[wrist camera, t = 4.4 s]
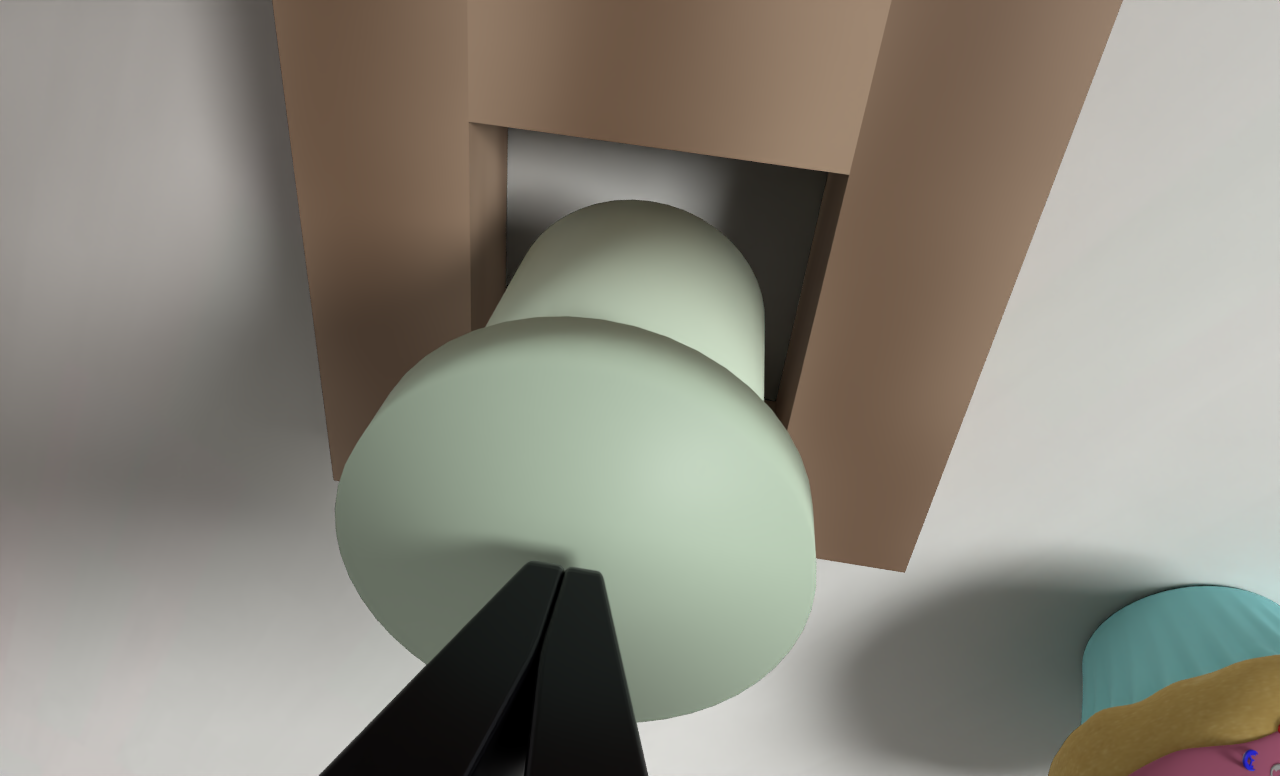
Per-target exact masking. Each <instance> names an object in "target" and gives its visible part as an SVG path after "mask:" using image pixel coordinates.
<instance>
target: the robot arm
mask: <svg viewBox="0 0 1280 776" xmlns="http://www.w3.org/2000/svg"><path fill="white" fill-rule="evenodd" d="M319 776H648V772H647V768H646V763H645V759H644V754H643V750H642V745H641V741H640V736H639V732H638V728H637V723H636V719H635V714H634V710H633V705H632V701H631V696H630V692H629V688H628V683H627V679H626V674H625V670H624V665H623V661H622V657H621V652H620V648H619V643H618V639H617V634H616V630H615V625H614V621H613V617H612V612H611V608H610V603H609V599H608V594H607V590H606V586H605V581H604V577H603V575H602V573H601V572H599V571H596V570H590V569H584V568H578V567H569V568H567V569H566V570H564V568H563V567H562V566H561V565H559V564H553V563H547V562H541V561H535V560H532V561H529V562H527V563H526V564H525V565H524V566H523V567H522V568H521V569H520V570H519V571H518V572H517V573H516V574H515V575H514V576H513V577H512V578H511V579H510V580H509V581H508V582H507V583H506V584H505V585H504V586H503V587H502V588H501V589H500V590H499V591H498V592H497V593H496V594H495V595H494V596H493V597H492V598H491V599H490V600H489V601H488V602H487V603H486V604H485V606H484V607H483V608H482V609H481V610H480V611H479V612H478V613H477V614H476V615H475V616H474V617H473V618H472V619H471V620H470V621H469V622H468V623H467V624H466V625H465V626H464V627H463V628H462V629H461V630H460V631H459V632H458V633H457V634H456V635H455V636H454V637H453V638H452V639H451V640H450V641H449V642H448V643H447V644H446V646H445V647H444V648H443V649H442V650H441V651H440V652H439V653H438V654H437V655H436V656H435V657H434V658H433V659H432V660H431V661H430V662H429V663H428V664H427V665H426V666H425V667H424V668H423V669H422V670H421V671H420V672H419V673H418V674H417V675H416V676H415V677H414V678H413V679H412V680H411V681H410V682H409V683H408V684H407V686H406V687H405V688H404V689H403V690H402V691H401V692H400V693H399V694H398V695H397V696H396V697H395V698H394V699H393V700H392V701H391V702H390V703H389V704H388V705H387V706H386V707H385V708H384V709H383V710H382V711H381V712H380V713H379V714H378V715H377V716H376V717H375V718H374V719H373V720H372V721H371V722H370V723H369V724H368V726H367V727H366V728H365V729H364V730H363V731H362V732H361V733H360V734H359V735H358V736H357V737H356V738H355V739H354V740H353V741H352V742H351V743H350V744H349V745H348V746H347V747H346V748H345V749H344V750H343V751H342V752H341V753H340V754H339V755H338V756H337V757H336V758H335V759H334V760H333V761H332V762H331V763H330V765H329V766H328V767H327V768H326V769H325V770H324V771H323V772H322V773H321V774H320V775H319Z"/></svg>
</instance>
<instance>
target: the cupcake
mask: <svg viewBox="0 0 1280 776" xmlns="http://www.w3.org/2000/svg"><path fill="white" fill-rule="evenodd" d="M1082 672H1083V702H1082V719H1081V725H1080V726H1079V727H1078V728H1077V729H1076V730H1074V731H1073V732H1072V733H1071V734H1070V735H1069V737H1068V738H1067V739H1066V741H1065V742H1064V743H1063V745H1062V746H1061V748H1060V749H1059V751H1058V752H1057V754H1056V755H1055V757H1054V759H1053V761H1052V763H1051V766H1050V770H1049V774H1048V776H1280V606H1279V605H1278V604H1276V603H1275V602H1273V601H1271V600H1269V599H1267V598H1265V597H1263V596H1261V595H1258V594H1255V593H1252V592H1249V591H1246V590H1241V589H1236V588H1230V587H1219V586H1195V587H1185V588H1178V589H1173V590H1168V591H1164V592H1160V593H1157V594H1154V595H1150V596H1148V597H1145V598H1142V599H1140V600H1138V601H1135V602H1133V603H1131V604H1129V605H1127V606H1126V607H1124V608H1122V609H1121V610H1119V611H1117V612H1116V613H1114V614H1113V615H1112V616H1111V617H1109V618H1108V619H1107V620H1106V621H1105V622H1103V623H1102V624H1101V625H1100V626H1099V628H1098V629H1097V630H1096V631H1095V632H1094V634H1093V635H1092V636H1091V638H1090V640H1089V642H1088V643H1087V646H1086V648H1085V651H1084V655H1083V662H1082Z"/></svg>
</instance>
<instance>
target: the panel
mask: <svg viewBox="0 0 1280 776" xmlns="http://www.w3.org/2000/svg"><path fill="white" fill-rule="evenodd" d="M1122 1H1123V0H272V3H273V11H274V18H275V26H276V34H277V42H278V50H279V57H280V65H281V73H282V81H283V89H284V96H285V104H286V112H287V120H288V128H289V135H290V143H291V151H292V159H293V167H294V174H295V182H296V190H297V198H298V206H299V213H300V221H301V229H302V237H303V245H304V252H305V260H306V268H307V276H308V284H309V291H310V299H311V307H312V315H313V323H314V330H315V338H316V346H317V354H318V361H319V369H320V377H321V385H322V393H323V400H324V408H325V416H326V424H327V432H328V439H329V447H330V455H331V463H332V471H333V478H334V480H335V481H340V478H341V475H342V472H343V469H344V466H345V464H346V462H347V460H348V458H349V456H350V455H351V453H352V451H353V449H354V447H355V446H356V444H357V442H358V441H359V439H360V438H361V436H362V435H363V433H364V432H365V430H366V429H367V427H368V426H369V424H370V423H371V421H372V419H373V418H374V416H375V415H376V413H377V412H378V410H379V409H380V407H381V406H382V404H383V403H384V401H385V400H386V398H387V397H388V395H389V394H390V392H391V391H392V390H393V389H394V387H395V386H396V385H397V384H398V382H399V381H400V380H401V379H402V378H403V376H404V375H405V374H406V373H407V372H408V371H409V370H410V369H411V368H413V367H414V366H415V365H416V364H417V363H418V362H419V361H421V360H422V359H423V358H424V357H425V356H427V355H428V354H430V353H431V352H433V351H435V350H436V349H438V348H439V347H441V346H443V345H444V344H446V343H447V342H449V341H451V340H454V339H456V338H458V337H460V336H463V335H465V334H467V333H470V332H472V331H474V330H477V329H481V328H484V327H486V325H487V323H488V321H489V319H490V318H491V316H492V314H493V312H494V310H495V309H496V307H497V305H498V303H499V302H500V300H501V298H502V296H503V294H504V293H505V291H506V221H507V149H508V127H510V128H518V129H525V130H532V131H539V132H546V133H553V134H561V135H568V136H575V137H582V138H589V139H596V140H604V141H611V142H618V143H625V144H632V145H639V146H647V147H654V148H661V149H668V150H675V151H682V152H690V153H697V154H704V155H711V156H718V157H725V158H732V159H740V160H747V161H754V162H761V163H768V164H775V165H783V166H790V167H797V168H804V169H811V170H818V171H826V172H828V176H827V180H826V185H825V189H824V193H823V198H822V202H821V207H820V211H819V215H818V220H817V224H816V229H815V233H814V237H813V242H812V246H811V250H810V255H809V259H808V264H807V268H806V272H805V277H804V281H803V285H802V290H801V294H800V299H799V303H798V307H797V312H796V316H795V321H794V325H793V329H792V334H791V338H790V342H789V347H788V351H787V356H786V360H785V364H784V369H783V373H782V377H781V382H780V386H779V391H778V395H777V399H776V402H775V401H769V400H764V402H765V403H766V404H767V405H768V406H769V407H770V408H771V409H772V411H773V412H774V413H775V415H776V416H777V418H778V419H779V420H780V422H781V423H782V424H783V426H784V427H785V429H786V430H787V431H788V433H789V435H790V437H791V438H792V440H793V442H794V444H795V446H796V448H797V450H798V452H799V454H800V456H801V458H802V461H803V464H804V467H805V470H806V473H807V476H808V479H809V484H810V490H811V497H812V503H813V518H814V534H815V551H816V558H818V559H824V560H830V561H836V562H842V563H849V564H855V565H861V566H867V567H873V568H879V569H886V570H892V571H898V572H904V573H905V571H906V568H907V565H908V563H909V560H910V558H911V555H912V552H913V550H914V547H915V544H916V542H917V539H918V537H919V534H920V531H921V529H922V526H923V523H924V521H925V518H926V516H927V513H928V510H929V508H930V505H931V502H932V500H933V497H934V495H935V492H936V489H937V487H938V484H939V481H940V479H941V476H942V474H943V471H944V468H945V466H946V463H947V460H948V458H949V455H950V453H951V450H952V447H953V445H954V442H955V439H956V437H957V434H958V432H959V429H960V426H961V424H962V421H963V418H964V416H965V413H966V411H967V408H968V405H969V403H970V400H971V397H972V395H973V392H974V390H975V387H976V384H977V382H978V379H979V376H980V374H981V371H982V369H983V366H984V363H985V361H986V358H987V355H988V353H989V350H990V348H991V345H992V342H993V340H994V337H995V334H996V332H997V329H998V327H999V324H1000V321H1001V319H1002V316H1003V314H1004V311H1005V308H1006V306H1007V303H1008V300H1009V298H1010V295H1011V293H1012V290H1013V287H1014V285H1015V282H1016V279H1017V277H1018V274H1019V272H1020V269H1021V266H1022V264H1023V261H1024V258H1025V256H1026V253H1027V251H1028V248H1029V245H1030V243H1031V240H1032V237H1033V235H1034V232H1035V230H1036V227H1037V224H1038V222H1039V219H1040V216H1041V214H1042V211H1043V209H1044V206H1045V203H1046V201H1047V198H1048V195H1049V193H1050V190H1051V188H1052V185H1053V182H1054V180H1055V177H1056V174H1057V172H1058V169H1059V167H1060V164H1061V161H1062V159H1063V156H1064V153H1065V151H1066V148H1067V146H1068V143H1069V140H1070V138H1071V135H1072V132H1073V130H1074V127H1075V125H1076V122H1077V119H1078V117H1079V114H1080V111H1081V109H1082V106H1083V104H1084V101H1085V98H1086V96H1087V93H1088V90H1089V88H1090V85H1091V83H1092V80H1093V77H1094V75H1095V72H1096V69H1097V67H1098V64H1099V62H1100V59H1101V56H1102V54H1103V51H1104V48H1105V46H1106V43H1107V41H1108V38H1109V35H1110V33H1111V30H1112V27H1113V25H1114V22H1115V20H1116V17H1117V14H1118V12H1119V9H1120V6H1121V4H1122Z"/></svg>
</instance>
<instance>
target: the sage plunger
mask: <svg viewBox="0 0 1280 776" xmlns="http://www.w3.org/2000/svg"><path fill="white" fill-rule="evenodd" d="M764 355H765V310H764V304H763V299H762V294H761V291H760V288H759V285H758V282H757V279H756V277H755V275H754V273H753V271H752V269H751V267H750V265H749V264H748V262H747V261H746V259H745V258H744V257H743V255H742V254H741V252H740V251H739V250H738V249H737V248H736V247H735V245H734V244H733V243H732V242H731V241H730V240H729V239H728V238H727V237H726V236H724V235H723V234H722V233H721V232H720V231H719V230H717V229H716V228H715V227H713V226H712V225H710V224H709V223H707V222H706V221H704V220H703V219H701V218H699V217H697V216H695V215H693V214H691V213H689V212H687V211H684V210H682V209H679V208H676V207H673V206H670V205H666V204H661V203H657V202H652V201H642V200H615V201H609V202H603V203H598V204H594V205H591V206H588V207H585V208H582V209H579V210H577V211H575V212H573V213H571V214H569V215H567V216H565V217H563V218H562V219H560V220H559V221H557V222H556V223H554V224H553V225H552V226H550V227H549V228H548V229H547V230H546V231H545V232H544V233H543V234H541V235H540V236H539V238H538V239H537V240H536V241H535V242H534V244H533V245H532V246H531V247H530V249H529V251H528V252H527V254H526V255H525V257H524V259H523V260H522V262H521V264H520V266H519V268H518V269H517V271H516V273H515V275H514V277H513V278H512V280H511V282H510V284H509V285H508V287H507V289H506V291H505V293H504V294H503V296H502V298H501V300H500V302H499V303H498V305H497V307H496V309H495V310H494V312H493V314H492V316H491V318H490V319H489V321H488V323H487V325H486V327H484V328H481V329H477V330H474V331H472V332H470V333H467V334H465V335H463V336H460V337H458V338H456V339H454V340H451V341H449V342H447V343H446V344H444V345H443V346H441V347H439V348H438V349H436V350H435V351H433V352H431V353H430V354H428V355H427V356H425V357H424V358H423V359H422V360H421V361H419V362H418V363H417V364H416V365H415V366H414V367H413V368H411V369H410V370H409V371H408V372H407V373H406V374H405V375H404V376H403V378H402V379H401V380H400V381H399V382H398V384H397V385H396V386H395V387H394V389H393V390H392V391H391V392H390V394H389V395H388V397H387V398H386V400H385V401H384V403H383V404H382V406H381V407H380V409H379V410H378V412H377V413H376V415H375V416H374V418H373V419H372V421H371V423H370V424H369V426H368V427H367V429H366V430H365V432H364V433H363V435H362V436H361V438H360V439H359V441H358V442H357V444H356V446H355V447H354V449H353V451H352V453H351V455H350V456H349V458H348V460H347V462H346V464H345V466H344V469H343V472H342V475H341V478H340V481H339V485H338V489H337V497H336V504H335V523H336V535H337V539H338V544H339V549H340V553H341V556H342V559H343V562H344V564H345V567H346V570H347V572H348V575H349V577H350V579H351V581H352V583H353V584H354V586H355V588H356V590H357V592H358V593H359V595H360V597H361V599H362V600H363V601H364V603H365V604H366V606H367V607H368V608H369V610H370V611H371V612H372V614H373V615H374V617H375V618H376V619H377V620H378V621H379V622H380V623H381V624H382V626H383V627H384V628H385V629H386V630H387V631H388V632H389V633H390V634H391V635H392V636H393V637H394V638H395V639H396V640H397V641H398V642H399V643H400V644H402V645H403V646H404V647H405V648H406V649H407V650H408V651H409V652H411V653H412V654H413V655H414V656H416V657H417V658H419V659H420V660H421V661H423V662H424V663H425V664H428V663H429V662H430V661H431V660H432V659H433V658H434V657H435V656H436V655H437V654H438V653H439V652H440V651H441V650H442V649H443V648H444V647H445V646H446V644H447V643H448V642H449V641H450V640H451V639H452V638H453V637H454V636H455V635H456V634H457V633H458V632H459V631H460V630H461V629H462V628H463V627H464V626H465V625H466V624H467V623H468V622H469V621H470V620H471V619H472V618H473V617H474V616H475V615H476V614H477V613H478V612H479V611H480V610H481V609H482V608H483V607H484V606H485V604H486V603H487V602H488V601H489V600H490V599H491V598H492V597H493V596H494V595H495V594H496V593H497V592H498V591H499V590H500V589H501V588H502V587H503V586H504V585H505V584H506V583H507V582H508V581H509V580H510V579H511V578H512V577H513V576H514V575H515V574H516V573H517V572H518V571H519V570H520V569H521V568H522V567H523V566H524V565H525V564H526V563H527V562H529V561H532V560H535V561H541V562H547V563H553V564H559V565H561V566H562V567H563V568H564V570H566V569H567V568H569V567H578V568H584V569H590V570H596V571H599V572H601V573H602V575H603V577H604V581H605V586H606V590H607V594H608V599H609V603H610V608H611V612H612V617H613V621H614V625H615V630H616V634H617V639H618V643H619V648H620V652H621V657H622V661H623V665H624V670H625V674H626V679H627V683H628V688H629V692H630V696H631V701H632V705H633V710H634V714H635V719H636V722H646V721H654V720H662V719H668V718H673V717H677V716H682V715H686V714H691V713H694V712H697V711H700V710H703V709H706V708H709V707H712V706H715V705H717V704H719V703H721V702H723V701H725V700H727V699H730V698H732V697H734V696H736V695H738V694H740V693H741V692H743V691H744V690H746V689H748V688H749V687H751V686H752V685H754V684H756V683H757V682H758V681H760V680H761V679H762V678H763V677H764V676H766V675H767V674H768V673H769V672H770V671H772V670H773V669H774V668H775V667H776V666H777V665H778V664H779V663H780V662H781V660H782V659H783V658H784V657H785V656H786V655H787V654H788V653H789V651H790V650H791V649H792V647H793V646H794V644H795V642H796V641H797V639H798V638H799V636H800V635H801V633H802V631H803V629H804V627H805V624H806V622H807V619H808V617H809V614H810V612H811V609H812V604H813V599H814V594H815V589H816V551H815V534H814V518H813V503H812V497H811V490H810V484H809V479H808V476H807V473H806V470H805V467H804V464H803V461H802V458H801V456H800V454H799V452H798V450H797V448H796V446H795V444H794V442H793V440H792V438H791V437H790V435H789V433H788V431H787V430H786V429H785V427H784V426H783V424H782V423H781V422H780V420H779V419H778V418H777V416H776V415H775V413H774V412H773V411H772V409H771V408H770V407H769V406H768V405H767V404H766V403H765V402H764Z"/></svg>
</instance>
